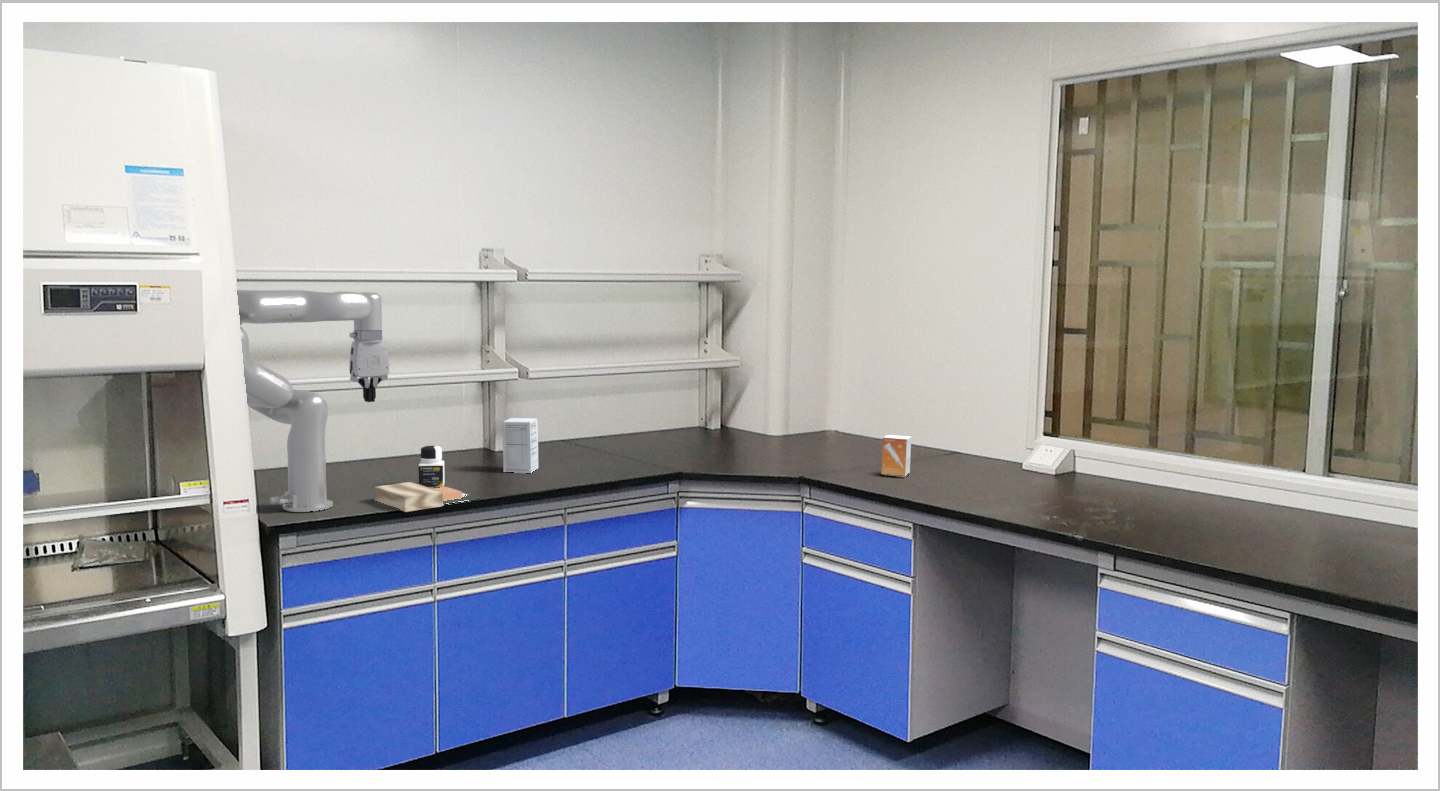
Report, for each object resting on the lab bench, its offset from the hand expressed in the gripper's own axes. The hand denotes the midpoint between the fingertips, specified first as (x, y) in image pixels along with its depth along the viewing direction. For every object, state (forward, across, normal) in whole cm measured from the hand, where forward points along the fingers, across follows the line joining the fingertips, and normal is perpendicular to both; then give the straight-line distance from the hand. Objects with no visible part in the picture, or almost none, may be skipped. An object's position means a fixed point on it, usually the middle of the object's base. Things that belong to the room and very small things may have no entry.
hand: (369, 401), depth 301 cm
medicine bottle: (+27, +20, +2) cm, 34 cm away
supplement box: (+27, +54, +6) cm, 61 cm away
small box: (+27, +143, -77) cm, 165 cm away
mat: (+27, +15, -16) cm, 35 cm away
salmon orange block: (+25, +14, -16) cm, 33 cm away
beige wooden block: (+27, +3, -16) cm, 32 cm away
